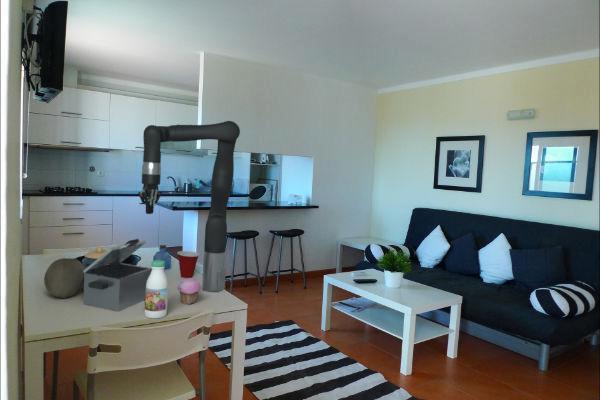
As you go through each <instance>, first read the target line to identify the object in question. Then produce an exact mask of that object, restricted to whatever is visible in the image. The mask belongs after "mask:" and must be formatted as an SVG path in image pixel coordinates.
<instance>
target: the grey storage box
mask: <svg viewBox="0 0 600 400" xmlns="http://www.w3.org/2000/svg"><path fill="white" fill-rule="evenodd" d="M151 271H152V268H151V267H146V266H140V265H134V264H129V263H123V262H121V263H119V264H115V265H112V266H108V267H104V268H101V269H97V270H94V271H90V272H87V273H84V290H83V300H82V301H83V302H82V303H83V305H85V306H90V307H94V308H99V309H104V310H108V311H114V312H117V311H118V312H121V311H123V310H126V309H127V308H130V307H132V306H135V305H137V304H139V303H141V302H145V294H146V283H147V280H148V278H149V276H150V274H151Z"/></svg>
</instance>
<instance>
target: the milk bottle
mask: <svg viewBox="0 0 600 400" xmlns="http://www.w3.org/2000/svg"><path fill="white" fill-rule="evenodd" d="M150 266H151V267H150V268H152V271H151V274H150V276H149V278H148V280H147V283H146V294H145V300H144V317H146V318H147V319H153V320H155V319H161V318H164V317H166V316H167V313H168V302H169V301H168V300H169V282H168V281H169V280H168V278H167V275H166V273H165V270H164V268H165V261H162V260H155V261H153V260H152V261H151V265H150Z"/></svg>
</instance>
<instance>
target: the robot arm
mask: <svg viewBox="0 0 600 400" xmlns="http://www.w3.org/2000/svg"><path fill="white" fill-rule="evenodd" d="M240 134H241V129H240V126H239V125H238V124H237V123H236V122H235V121H232V120H226V121H222V122H218V123H217V122H216V123H211V124H172V125H167V126H165V125H164V126H163V125H162V126H161V125H160V126H158V125H154V124H151V125H147V126H146V127H145V129H144V130H143V139H142V140H143V155H142V156H143V157H142V168H141V184H143V186H142V190H141V191H138V192H137V193H138V197H139V200H140V201H141V203H142V204H143V205H145V214H146V215H152V214H154V209H155V207H154V206H155V204H158V203H159V200H160V198H161V196H162V194H163V192H162V191H161V190H159V186H160V185H161V178H162V177H161V176H162V175H161V174H162V165H161V164H162V163H161V162H162V151H161V144H162V143H169V142H173V143H175V142H179V143H181V142H193V141H204V140H214V141H215V140H217V152H216V156H215V160H214V164H213V169H212V173H211V174H212V175H211V180H210V182H211V184H210V207H209V212H208V216H207V219H206V223H205V228H204V229H205V230H204V248H203V249H204V251H203V267H202V283H201V289H202V290H203V291H205V292H211V293H212V292H214V293H215V292H216V293H219V292H221V291H222V290H225V288H226V273H227V268H226V267H225V263H226V262H225V261H226V247H227V246H226V245H227V232H228V225H227V213H228V211H227V210H228V208H227V206H228V203H229V200H230V198H231V197H230V195H231V193H232V188H233V183H234V182H233V181H234V174H235V172H234V170H235V169H234V162H235V161H234V152H235V147H236V143H237V139H239V137H240Z"/></svg>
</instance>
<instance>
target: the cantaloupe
mask: <svg viewBox="0 0 600 400" xmlns="http://www.w3.org/2000/svg"><path fill="white" fill-rule="evenodd" d="M84 270H85V267H84V265H83V262H82V261H79V260H78V259H75V258H71V257H70V258H67V257H65V258H58V259H56V260H54V261H52V263H51V264H50V265H49V267H48V268H47V269H46V271H45V273H44V277H43V281H44V282H43V283H44V287H45V289H46V291H47V292H48V294H50V295H51V296H53V297H56V298H60V299H66V298H67V299H68V297H71V296H73V295H75V294H76V293H77V292H78V291H79V290H80V289H82V284H83V283H84V272H83V271H84Z"/></svg>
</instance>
